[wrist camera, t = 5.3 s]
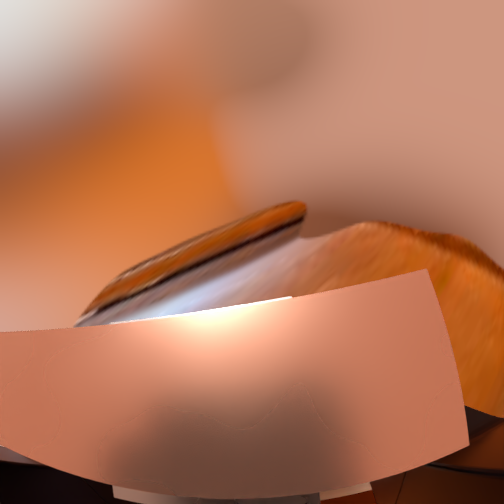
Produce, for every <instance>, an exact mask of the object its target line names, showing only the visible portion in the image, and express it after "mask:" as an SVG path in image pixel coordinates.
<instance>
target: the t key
mask: <svg viewBox="0 0 504 504" xmlns="http://www.w3.org/2000/svg"><path fill="white" fill-rule="evenodd" d="M0 445H2V446H4V447H6V448H8V449H10V450H12V451H14V452H17V453H19V454H21V455H23V456H26V457H28V458H30V459H33V460H35V461H37V462H40V463H42V464H45V465H48V466H50V467H53V468H56V469H59V470H61V471H64V472H67V473H70V474H74V475H77V476H80V477H83V478H87V479H90V480H94V481H98V482H102V483H106V484H110V485H112V486H113V493H114V497H115V498H119V499H123V500H127V501H132V502H137V503H142V504H321V501H320V492H324V491H329V490H335V489H340V488H345V487H350V486H354V485H359V484H363V483H367V482H371V481H375V480H378V479H382V478H385V477H389V476H392V475H396V474H399V473H402V472H405V471H408V470H411V469H414V468H416V467H419V466H422V465H425V464H427V463H430V462H432V461H435V460H437V459H440V458H442V457H445V456H447V455H449V454H452V453H454V452H456V451H458V450H460V449H462V448H465V447H467V446H469V437H468V428H467V421H466V414H465V408H464V402H463V396H462V391H461V385H460V381H459V376H458V371H457V367H456V363H455V358H454V354H453V350H452V346H451V343H450V339H449V335H448V332H447V328H446V325H445V322H444V318H443V315H442V312H441V309H440V306H439V302H438V299H437V296H436V294H435V291H434V288H433V285H432V282H431V279H430V277H429V274H428V271H427V269H423V270H419V271H415V272H411V273H407V274H403V275H399V276H394V277H390V278H386V279H381V280H377V281H373V282H368V283H364V284H359V285H355V286H350V287H345V288H340V289H336V290H331V291H326V292H321V293H316V294H311V295H306V296H300V297H295V298H292V297H291V296H289V297H284V298H278V299H273V300H267V301H262V302H256V303H250V304H244V305H238V306H232V307H225V308H219V309H212V310H206V311H199V312H192V313H185V314H178V315H171V316H163V317H155V318H147V319H139V320H130V321H122V322H112V323H110V324H109V325H99V326H89V327H77V328H66V329H51V330H36V331H17V332H0Z"/></svg>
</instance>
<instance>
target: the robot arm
mask: <svg viewBox="0 0 504 504" xmlns="http://www.w3.org/2000/svg"><path fill="white" fill-rule="evenodd" d="M464 408H465V414H466V421H467V428H468V437H469V446H467V447H465V448H462V449H460V450H458V451H456V452H454V453H452V454H449V455H447V456H445V457H442V458H440V459H437V460H435V461H432V462H430V463H427V464H425V465H422V466H419V467H416V468H414V469H411V470H408V471H405V472H402V473H399V474H396V475H392V476H389V477H385V478H382V479H378V480H375V481H371V482H370V485H371V488H372V491H373V494H374V497H375V500H376V503H377V504H504V418H500V417H495V416H492V415H489V414H486V413H484V412H481V411H478V410H475V409H473V408H470V407H467V406H465V405H464ZM0 504H142V503H137V502H132V501H127V500H123V499H119V498H115V497H114V493H113V486H112V485H110V484H106V483H102V482H98V481H94V480H90V479H87V478H83V477H80V476H77V475H74V474H70V473H67V472H64V471H61V470H59V469H56V468H53V467H50V466H48V465H45V464H42V463H40V462H37V461H35V460H33V459H30V458H28V457H26V456H23V455H21V454H19V453H17V452H14V451H12V450H10V449H8V448H6V447H3V446H0Z"/></svg>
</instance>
